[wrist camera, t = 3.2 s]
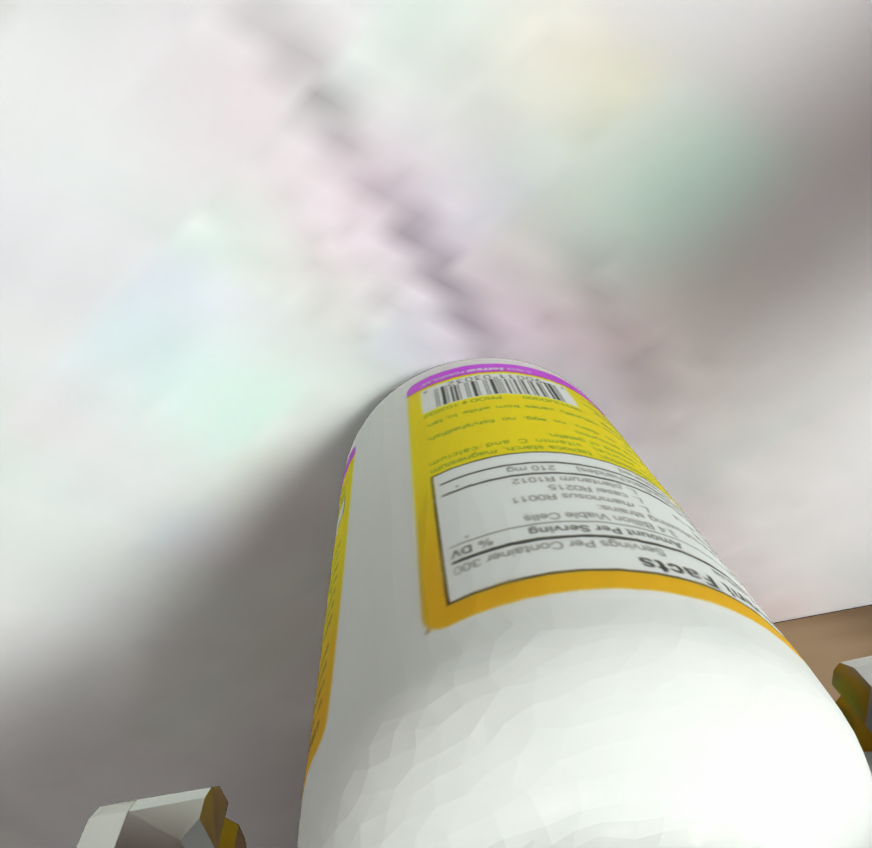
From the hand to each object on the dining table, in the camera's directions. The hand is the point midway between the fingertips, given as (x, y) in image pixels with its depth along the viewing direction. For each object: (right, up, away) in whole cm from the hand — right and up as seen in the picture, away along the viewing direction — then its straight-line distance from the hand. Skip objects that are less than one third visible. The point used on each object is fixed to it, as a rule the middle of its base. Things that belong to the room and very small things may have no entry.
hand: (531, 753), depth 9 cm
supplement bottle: (0, +3, +8) cm, 8 cm away
